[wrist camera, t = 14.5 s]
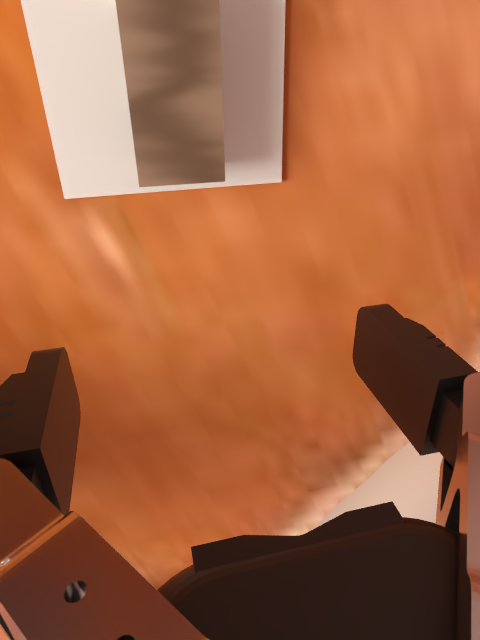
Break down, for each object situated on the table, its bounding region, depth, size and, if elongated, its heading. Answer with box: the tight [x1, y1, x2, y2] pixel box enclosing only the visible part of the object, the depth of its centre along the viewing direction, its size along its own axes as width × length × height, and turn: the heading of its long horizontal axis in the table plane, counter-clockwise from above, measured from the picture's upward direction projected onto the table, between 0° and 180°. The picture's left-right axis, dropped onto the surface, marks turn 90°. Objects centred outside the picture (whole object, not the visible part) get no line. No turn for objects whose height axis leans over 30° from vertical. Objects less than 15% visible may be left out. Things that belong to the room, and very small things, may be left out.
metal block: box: [115, 0, 225, 187], centre depth 26 cm, size 5×5×10 cm
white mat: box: [21, 0, 286, 199], centre depth 28 cm, size 15×13×1 cm
